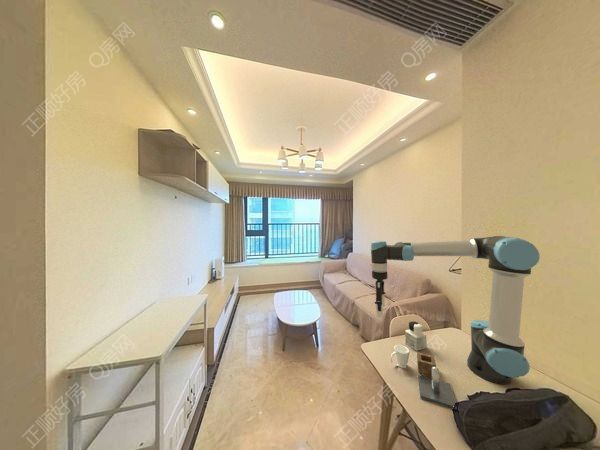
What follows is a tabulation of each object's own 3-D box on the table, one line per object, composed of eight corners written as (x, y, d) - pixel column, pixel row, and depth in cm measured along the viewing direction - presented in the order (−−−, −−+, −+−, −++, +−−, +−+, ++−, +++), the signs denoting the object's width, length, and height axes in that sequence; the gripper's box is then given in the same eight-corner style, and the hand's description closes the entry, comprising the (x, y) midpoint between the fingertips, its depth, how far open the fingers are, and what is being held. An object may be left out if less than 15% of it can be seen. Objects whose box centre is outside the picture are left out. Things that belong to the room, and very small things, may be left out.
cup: (413, 368, 94) (413, 351, 94) (396, 372, 91) (395, 355, 91) (402, 358, 101) (402, 343, 101) (386, 362, 98) (385, 346, 98)
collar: (434, 368, 93) (433, 356, 93) (436, 378, 87) (436, 365, 87) (417, 363, 97) (417, 352, 97) (418, 373, 90) (418, 361, 90)
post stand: (450, 386, 83) (449, 362, 83) (457, 410, 72) (457, 382, 72) (417, 377, 88) (417, 354, 88) (420, 398, 78) (419, 372, 78)
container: (405, 343, 114) (404, 321, 114) (415, 340, 116) (414, 319, 116) (416, 351, 106) (415, 327, 106) (427, 348, 109) (426, 325, 109)
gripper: (374, 265, 113) (375, 301, 113) (368, 275, 91) (370, 320, 91) (388, 266, 109) (389, 303, 109) (386, 277, 87) (387, 323, 87)
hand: (380, 311), depth 100 cm, fingers open, 13 cm apart
